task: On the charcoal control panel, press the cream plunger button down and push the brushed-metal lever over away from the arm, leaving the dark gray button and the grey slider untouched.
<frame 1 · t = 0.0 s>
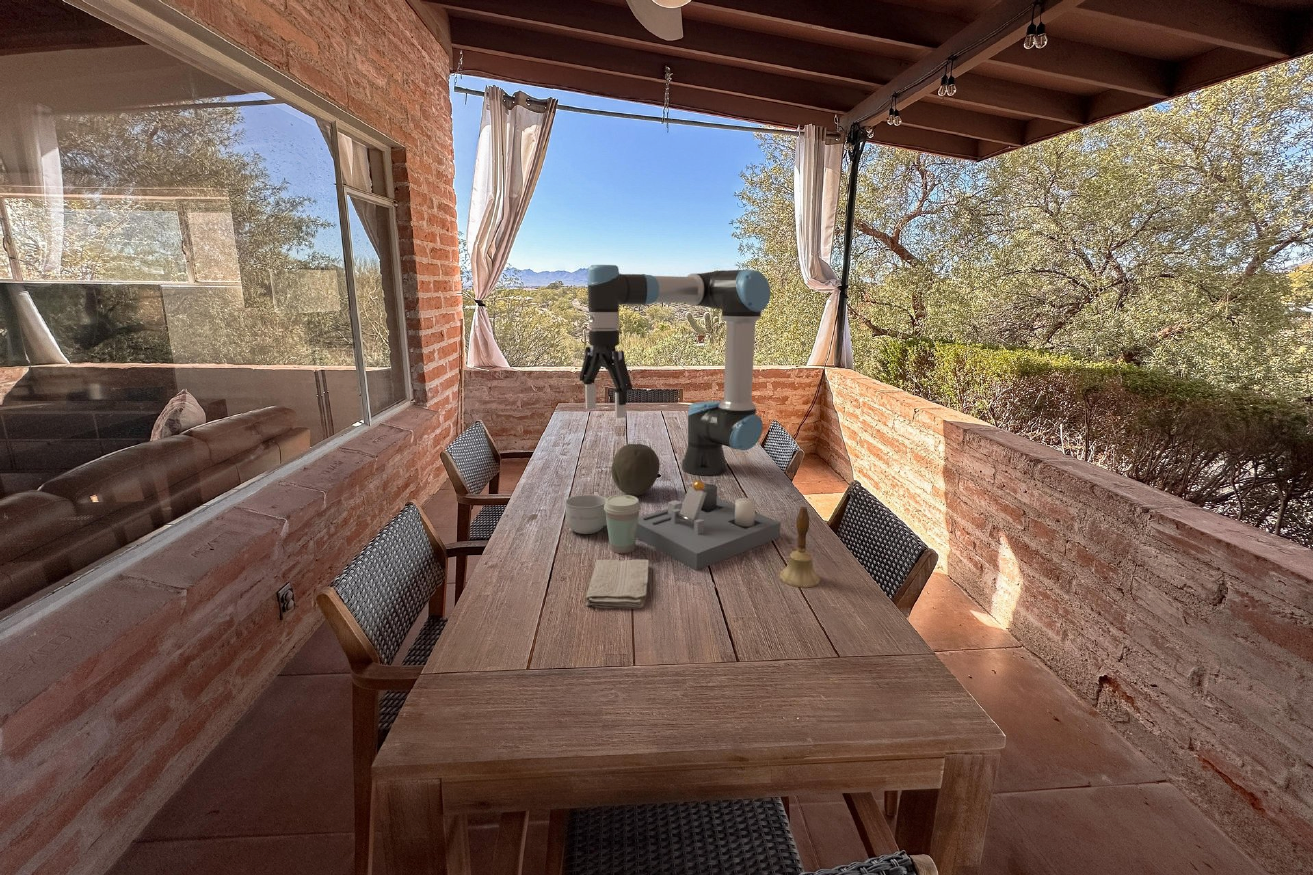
hand: (605, 413, 149), 28 cm above the table, tool pointing down, fingers open, 13 cm apart
slider knob: (674, 508, 146), point 6 cm above the table, slide at -3.0 cm
lever: (693, 501, 138), point 10 cm above the table, hinge at -25.0°
dark gray button: (707, 497, 151), point 7 cm above the table, slide at 0.0 cm
coffee cup: (622, 548, 136), on the table
teacup: (592, 531, 146), on the table
washcloth: (619, 588, 119), on the table
panel: (704, 536, 143), on the table
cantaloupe: (635, 494, 173), on the table
hand bell: (799, 579, 123), on the table
cream button: (744, 511, 141), point 7 cm above the table, slide at 0.0 cm
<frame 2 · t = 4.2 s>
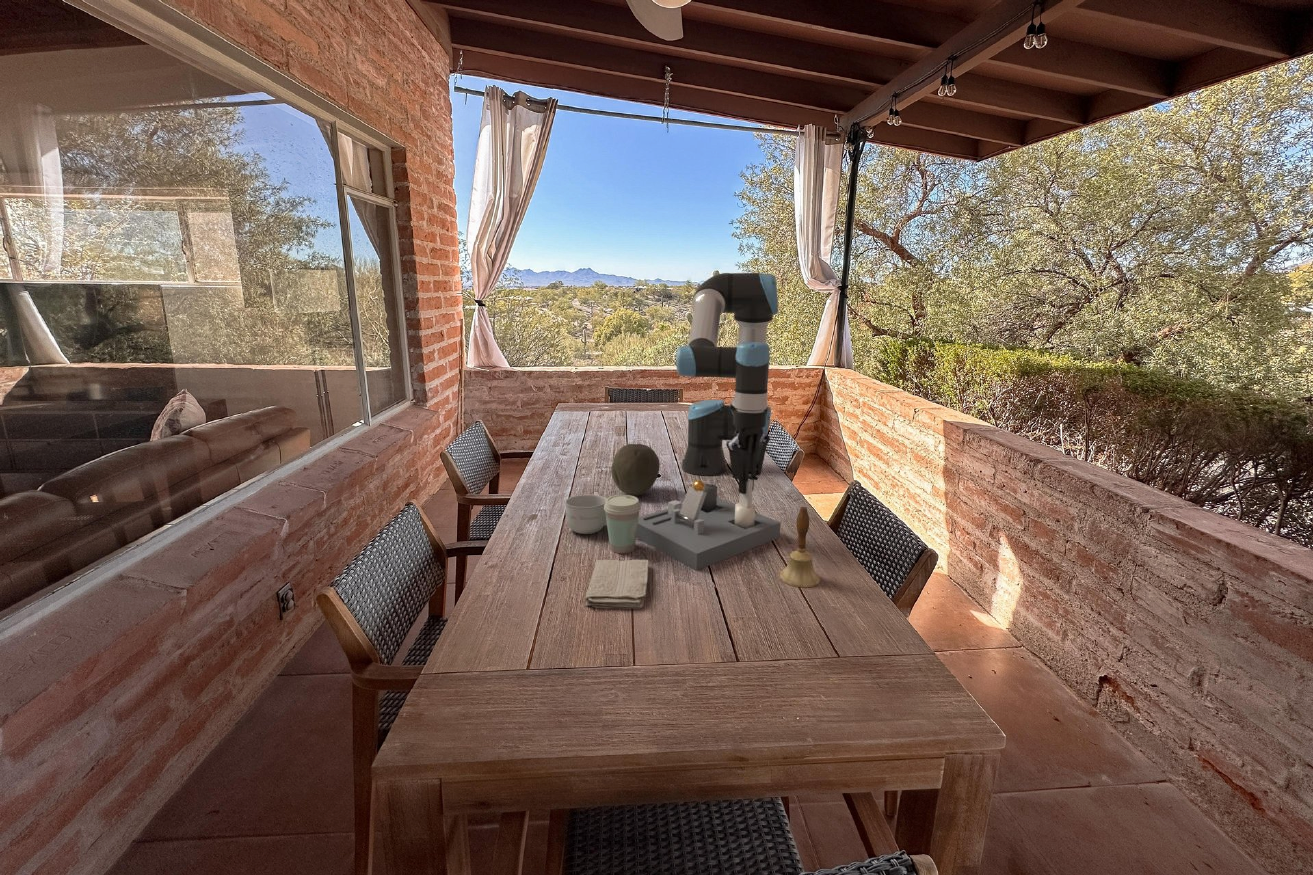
hand: (745, 504, 140), 9 cm above the table, tool pointing down, fingers closed
cream button: (744, 516, 141), point 5 cm above the table, slide at 1.2 cm, touching gripper
everything else where it was.
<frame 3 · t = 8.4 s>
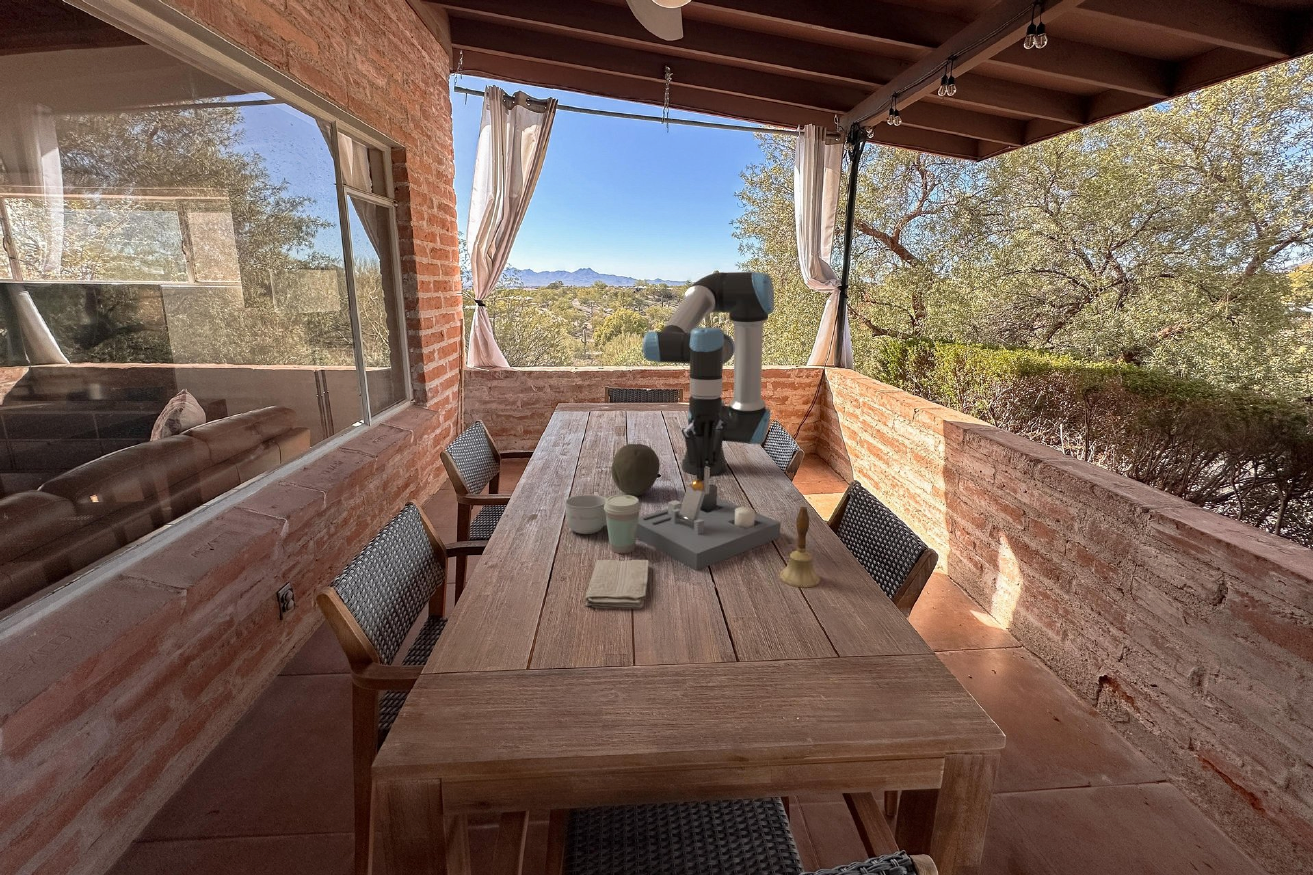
hand: (703, 492, 140), 12 cm above the table, tool pointing down, fingers closed
lever: (692, 500, 138), point 10 cm above the table, hinge at -21.0°, touching gripper
cream button: (744, 521, 142), point 4 cm above the table, slide at 2.5 cm
everything else where it was.
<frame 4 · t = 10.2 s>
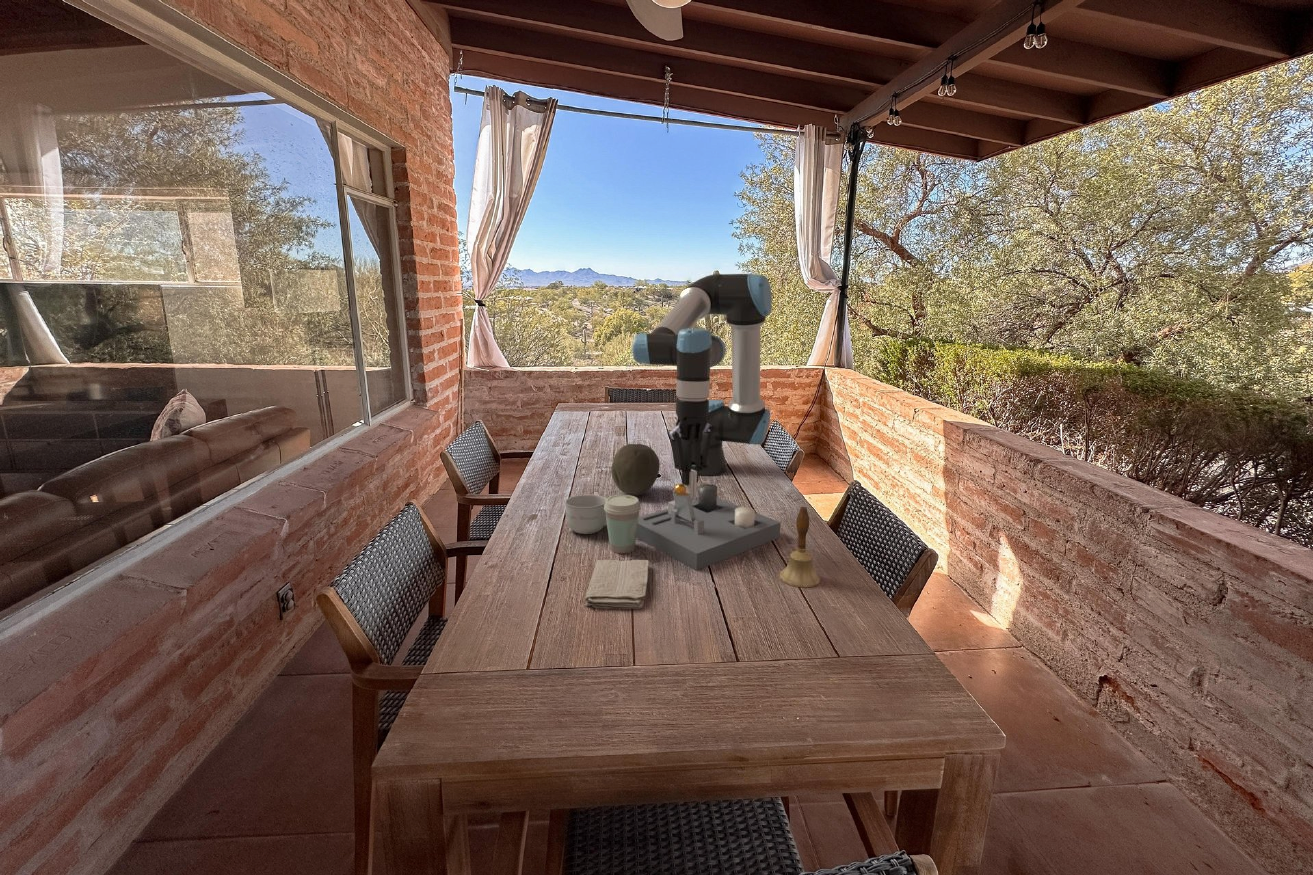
hand: (689, 496, 137), 12 cm above the table, tool pointing down, fingers closed
lever: (683, 503, 136), point 10 cm above the table, hinge at 17.1°
everything else where it was.
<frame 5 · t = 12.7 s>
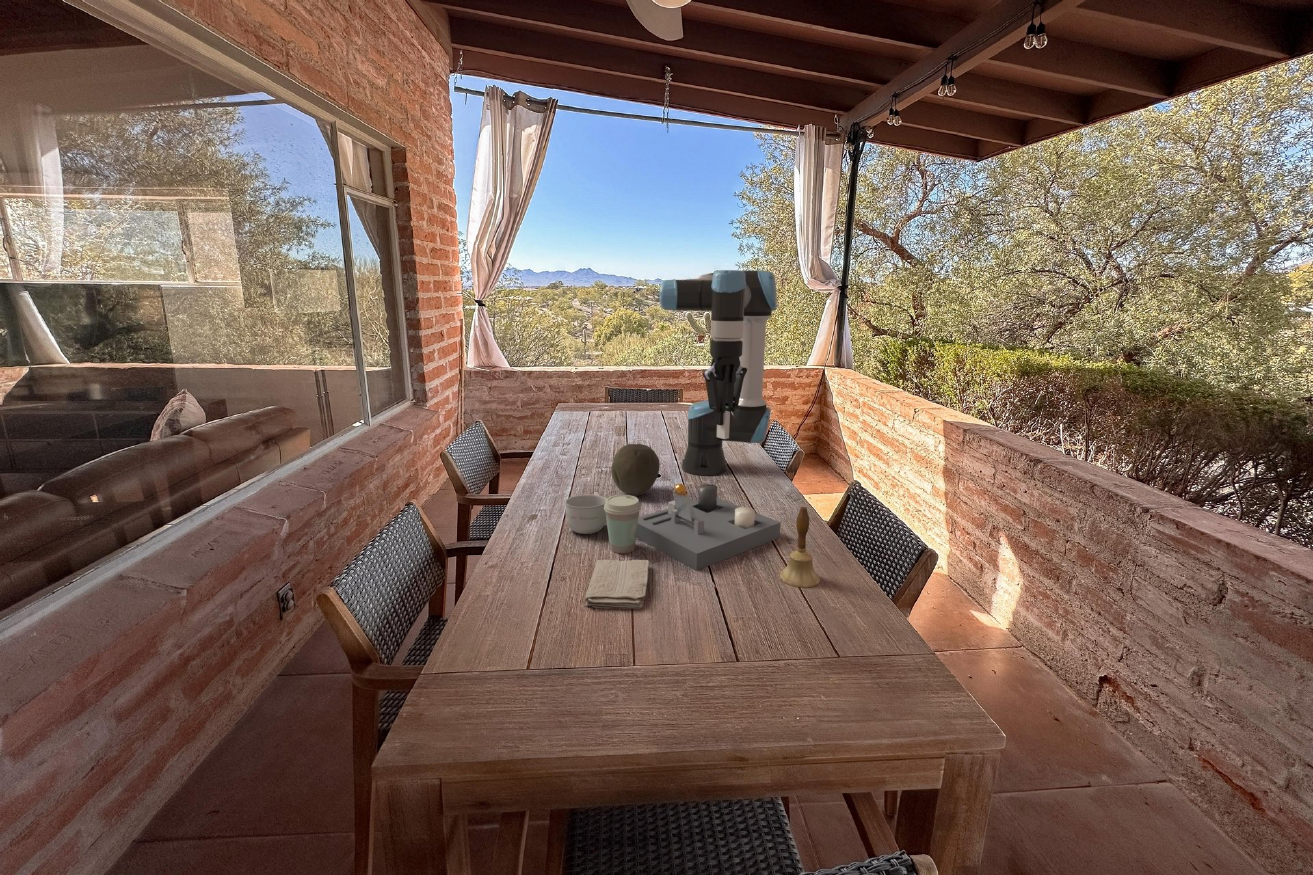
hand: (722, 437, 140), 24 cm above the table, tool pointing down, fingers closed
nothing on the table moved.
at the end: cream button slide at 2.5 cm; lever at +17° (first picture: -25°); dark gray button slide at 0.0 cm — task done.
